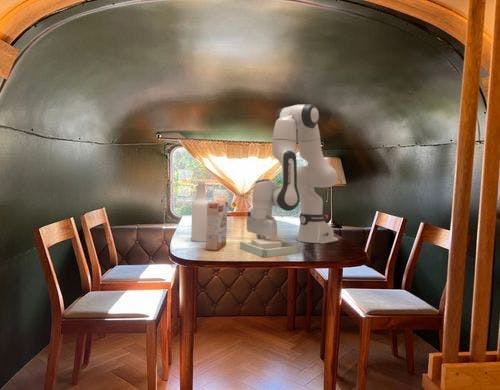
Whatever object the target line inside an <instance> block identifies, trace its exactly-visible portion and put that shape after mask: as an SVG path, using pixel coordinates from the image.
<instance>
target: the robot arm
mask: <svg viewBox="0 0 500 390" xmlns="http://www.w3.org/2000/svg"><path fill="white" fill-rule="evenodd" d="M319 120H320V112H319V109H318V108H317V106H316V105H315V104H311V103H307V104H294V105H291V106H290V105H289V106H284V107H282V108H279V109H278V110H277V112H276V115H275V124H274V127H273V132H272V133H273V134H272V139H271V140H272V143H271V145H272V146H271V150H272V151H271V152H272V154H273V157H275V159H276V160H278V162H279V163H280V165H281V169H282V171H281V172H282V173H281V174H282V178H281V179H282V180H281V181H282V184H281V185H279V184H277V183H275V182H273V181H272V180H271V179H270V178H265V179H258V180H256V181H255V182H254V186H253V190H252V191H253V192H252V201H253V203H252V204H253V205H252V210H249V211H247V212H246V231H247V232H249V233H253V234H255V235H256V236H255V237H256V239H267V238H268V239H276V238H277V236H278V223H277V220H276V218H275V217H274V216H272V215H273V214H272V213H273V212H272V209H273V207H277V208H279V209H282V210H284V211H287V212H289V211H293V210H295V209H296V208H297V207H298V205H299V204H300V213H299V222H300V223H299V228H298V234H297V238H296V240H297V241H298V242H303V243H309V244H310V243H312V244H313V243H314V244H326V243H333V242H337V241H339V238H338V237H335V236H334V235H335V233H334V232H335V231H334V229H333V227H331V226H330V224H328V223H327V222H326V221H325V219H328V218H329V215H328V214H323V205H324V203H323V202H324V201H323V198H322V197H321V196H320V195H319V194H318V193H316V191H315V188H322V189H323V188H329V187H333V186H334V185H336V182H337V180H338V173H337V171H336V169H335V168H334V167H333V166H332V165H330V164H329V163H328V161H327V160H326V159H325V156H324V154H323V149H322V144H321V134H320V133H321V132H320V129H319V125H318V124H319V123H318V122H319ZM297 143H298V153H299V156H300V158H301V159H303V160H304V161H306V162H307V163H308V164H309V165H300V166H297V165H298V164H297V163H298V162H297V161H298V160H297V154H296V151H297Z"/></svg>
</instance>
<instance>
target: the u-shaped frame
mask: <svg viewBox="0 0 500 390" xmlns="http://www.w3.org/2000/svg"><path fill="white" fill-rule="evenodd" d="M273 239H274V240H276V241H279V242H281V243H282V247H280V248H271V249H263V248H260V247H257V246H254V245H251V243H248V242H245V241H240V243H239V249H240V248H241V249H240V250H243V251H245V250H246V252H248V253H251V254H254V255H256V256H259V257H262V258H264V259H265V258H270V257H278V256H288V255H294V254H300V251H301V247H300V245H297V244H293V243H291V242H288V241H284V240H280V239H276V238H273Z"/></svg>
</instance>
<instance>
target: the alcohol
mask: <svg viewBox="0 0 500 390" xmlns="http://www.w3.org/2000/svg"><path fill="white" fill-rule="evenodd" d="M196 187H197V188H196V194H195V195H196V197H195V199H194V200H193V202H192V204H191V236H190V237H191V241H192V242H195V243H205V242H206V234H207V204H208V203H210V202H209V201H208V200H207V197H206V193H207V192H206V180H197V186H196Z"/></svg>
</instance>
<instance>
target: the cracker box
mask: <svg viewBox="0 0 500 390" xmlns="http://www.w3.org/2000/svg"><path fill="white" fill-rule="evenodd" d="M228 203H229V201H225V200H220V201H219V200H216V201H211V202H209V203H208V204H207V234H206V243H205V250H206V251H215V252H216V251H219V250H221V249H222V248H223V247H225V246H226V245H227V230H228V229H227V227H228V205H229V204H228Z"/></svg>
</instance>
